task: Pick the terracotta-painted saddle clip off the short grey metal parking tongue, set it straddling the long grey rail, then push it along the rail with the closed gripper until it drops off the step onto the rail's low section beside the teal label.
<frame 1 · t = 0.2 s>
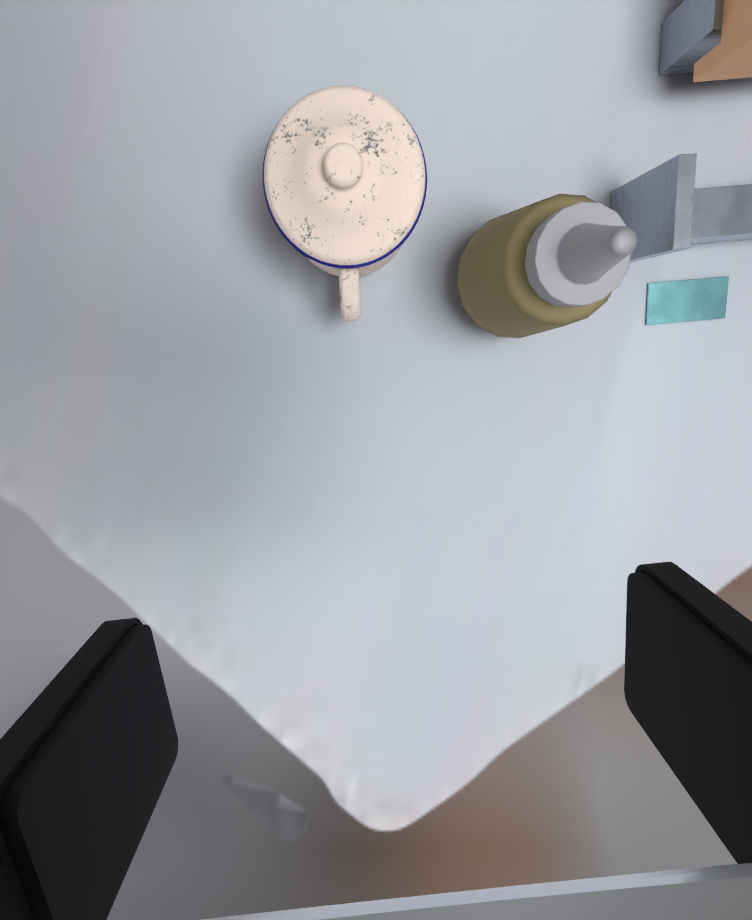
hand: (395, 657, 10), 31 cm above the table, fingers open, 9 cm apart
teacup with lid: (349, 236, 37), on the table
squeeze bottle: (501, 281, 38), on the table
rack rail: (745, 218, 37), on the table
parking tongue: (719, 45, 34), on the table
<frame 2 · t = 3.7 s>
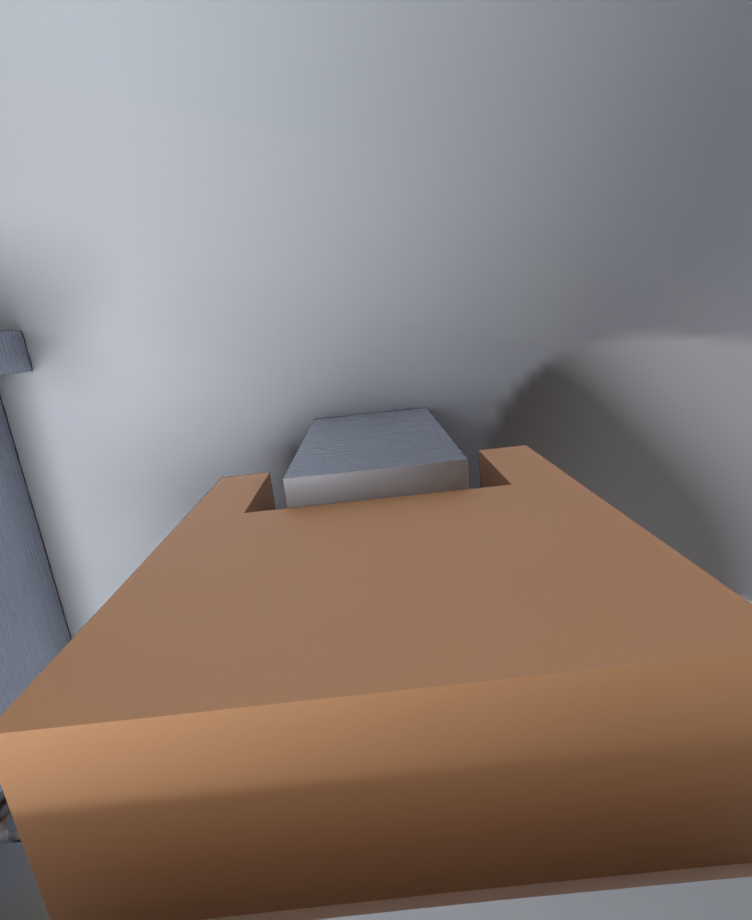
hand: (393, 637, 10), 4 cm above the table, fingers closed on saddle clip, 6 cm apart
saddle clip: (389, 609, 11), point 3 cm above the table, touching gripper, parking tongue
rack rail: (31, 679, 15), on the table
parking tongue: (384, 550, 14), on the table
when the fingers open (5 cm above the table, at t = 9.1 s): saddle clip stays where it is, resting on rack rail.
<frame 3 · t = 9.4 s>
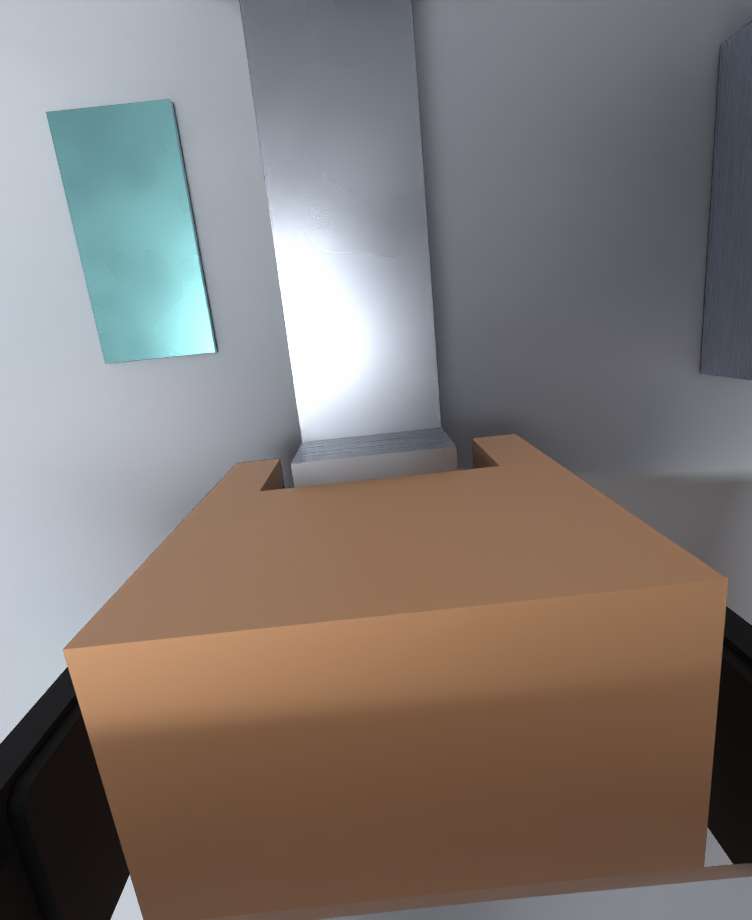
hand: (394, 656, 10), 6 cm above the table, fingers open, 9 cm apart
saddle clip: (390, 586, 12), point 3 cm above the table, touching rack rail
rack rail: (365, 372, 14), on the table
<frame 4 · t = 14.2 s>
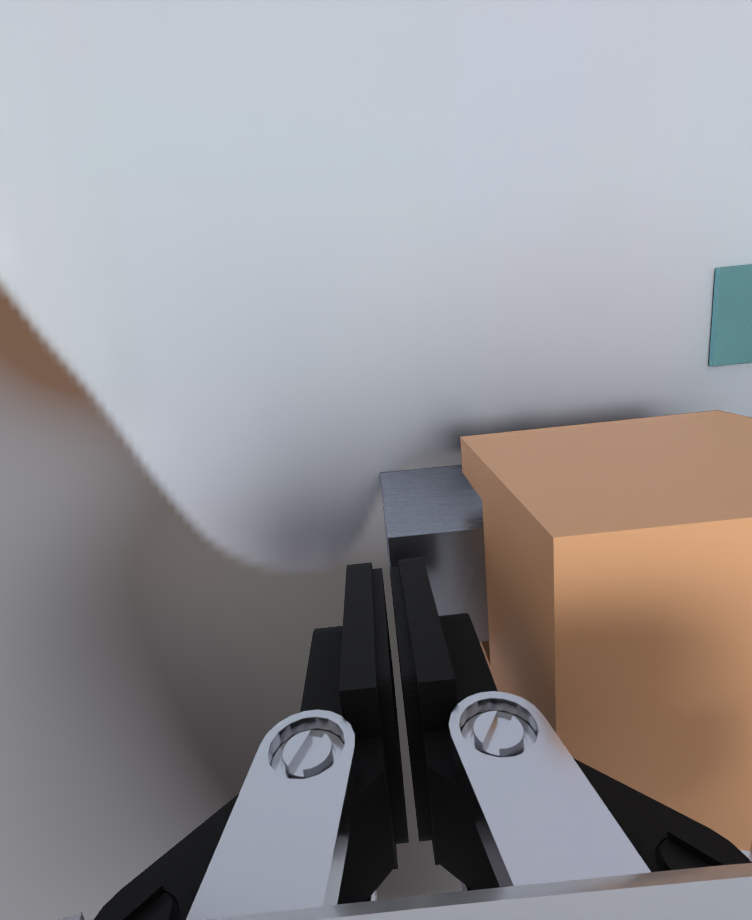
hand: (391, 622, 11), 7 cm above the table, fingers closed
saddle clip: (588, 533, 14), point 3 cm above the table, touching gripper, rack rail
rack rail: (671, 485, 17), on the table
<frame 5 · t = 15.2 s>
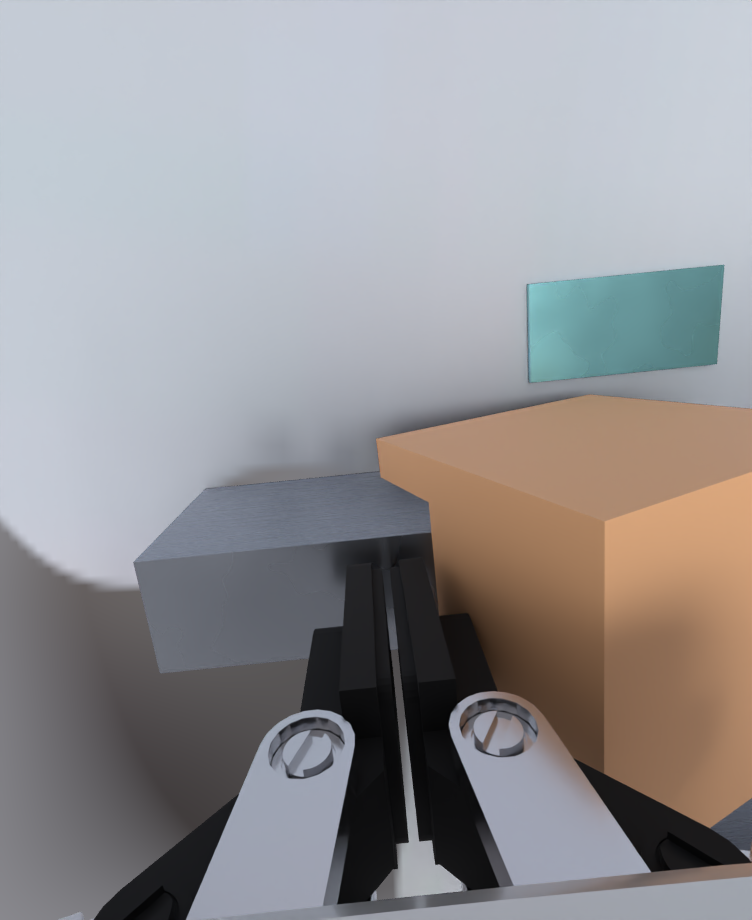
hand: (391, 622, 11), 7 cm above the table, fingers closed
saddle clip: (498, 523, 14), point 3 cm above the table, tilted 23°, touching gripper
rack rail: (502, 501, 17), on the table
parking tongue: (585, 752, 20), on the table
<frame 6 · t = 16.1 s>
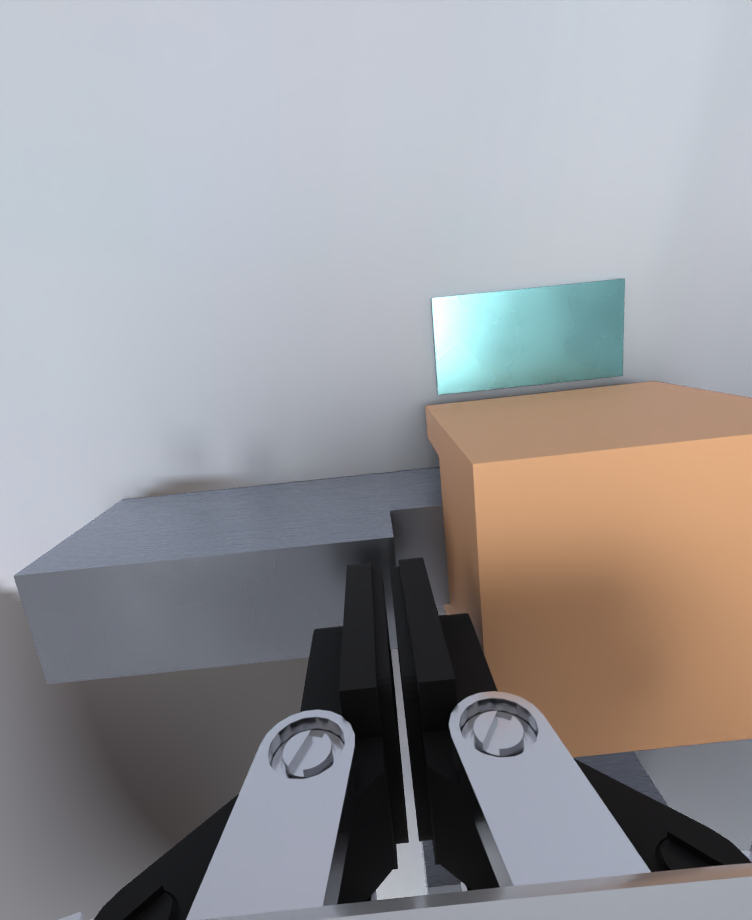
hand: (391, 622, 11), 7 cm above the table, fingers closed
saddle clip: (541, 492, 16), point 1 cm above the table, touching gripper, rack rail
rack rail: (416, 511, 18), on the table
parking tongue: (512, 759, 20), on the table
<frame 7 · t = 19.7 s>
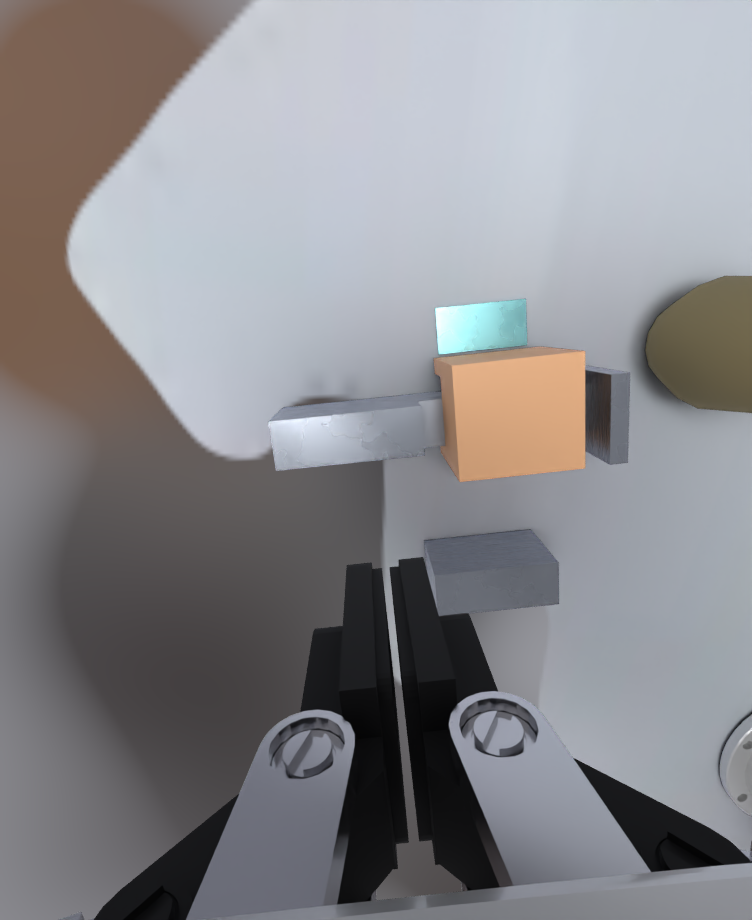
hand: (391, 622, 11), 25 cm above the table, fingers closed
squeeze bottle: (684, 343, 35), on the table
saddle clip: (489, 400, 34), point 1 cm above the table, touching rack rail
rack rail: (428, 413, 35), on the table
parking tongue: (478, 553, 38), on the table
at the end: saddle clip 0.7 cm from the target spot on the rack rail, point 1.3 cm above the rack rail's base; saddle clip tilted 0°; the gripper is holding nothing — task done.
